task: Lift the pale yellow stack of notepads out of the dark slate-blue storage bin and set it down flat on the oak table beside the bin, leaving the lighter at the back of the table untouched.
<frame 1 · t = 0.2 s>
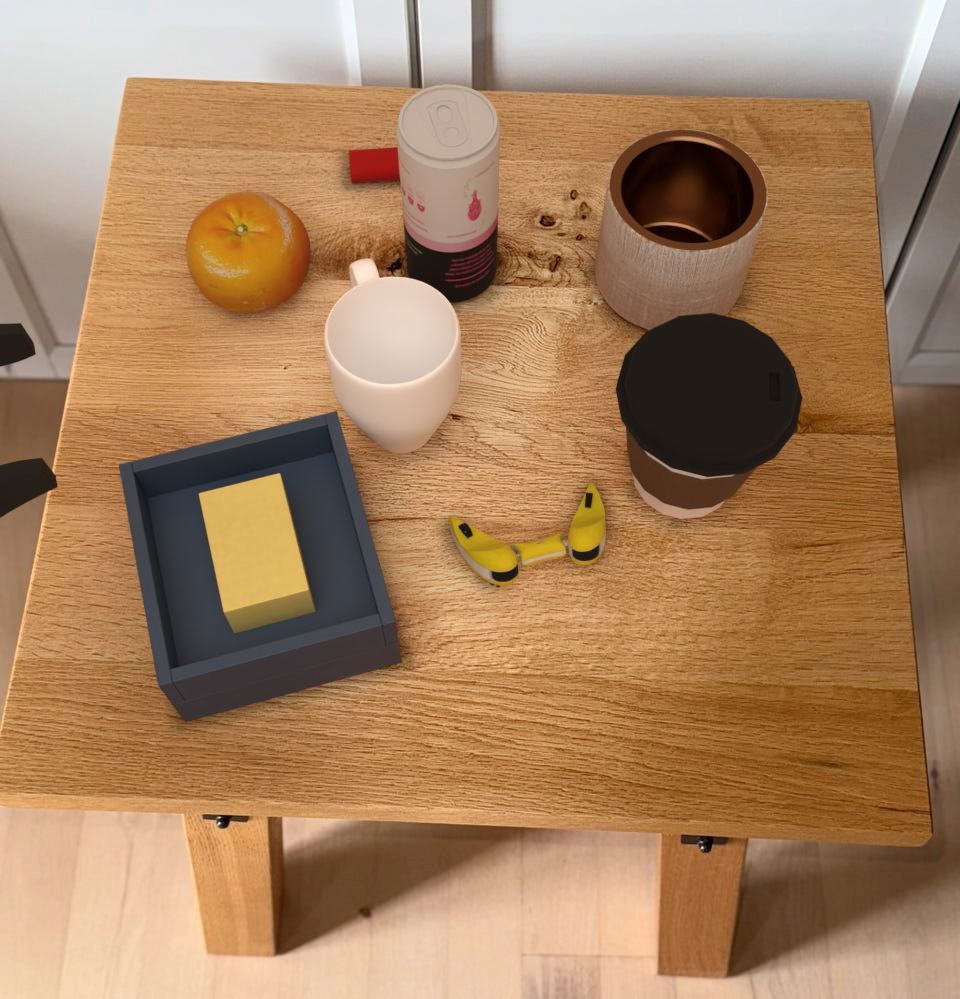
hand: (39, 404, 59), 21 cm above the table, tool horizontal, fingers open, 7 cm apart
planter: (666, 279, 89), on the table
mug: (394, 406, 83), on the table
notepads: (261, 564, 74), point 3 cm above the table, touching bin
game controller: (533, 547, 79), on the table
coffee cup: (680, 480, 81), on the table
fruit: (257, 283, 88), on the table
lighter: (402, 170, 93), on the table
bin: (270, 586, 77), on the table
beverage can: (452, 272, 89), on the table
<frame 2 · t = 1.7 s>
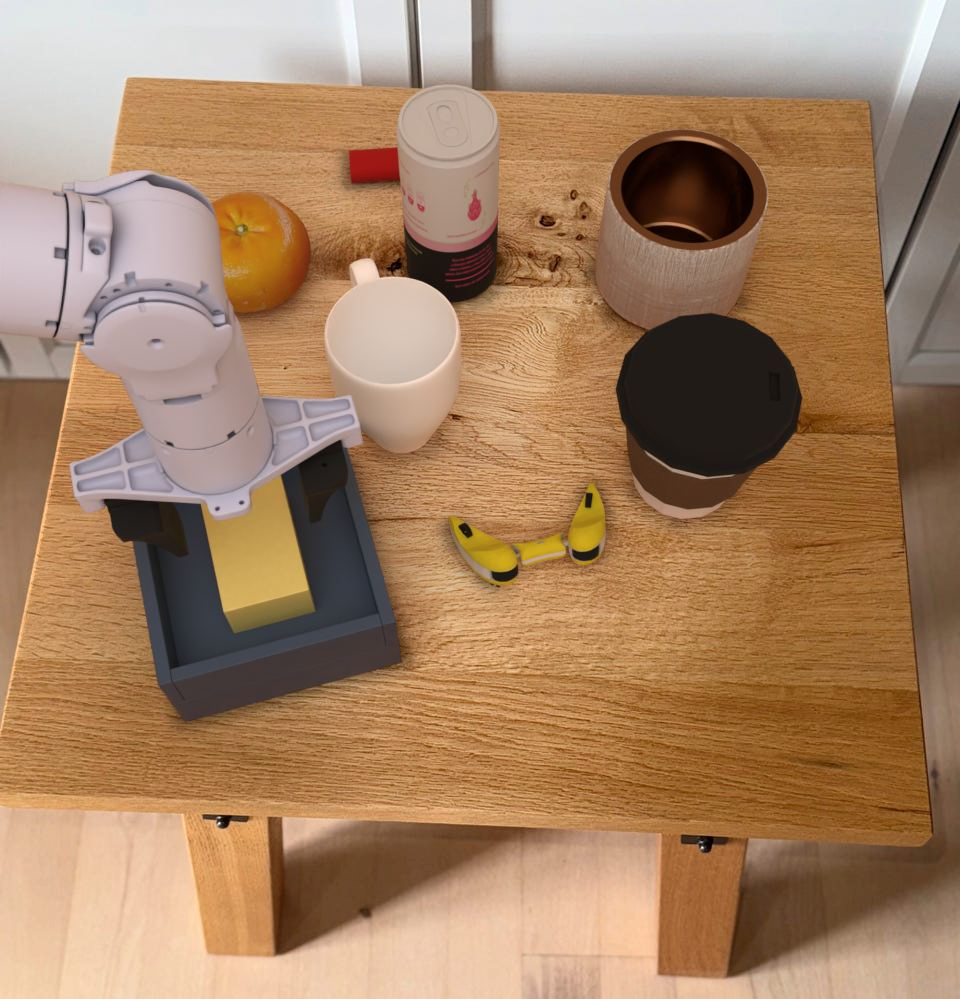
hand: (246, 524, 69), 9 cm above the table, tool pointing down, fingers open, 7 cm apart
nothing on the table moved.
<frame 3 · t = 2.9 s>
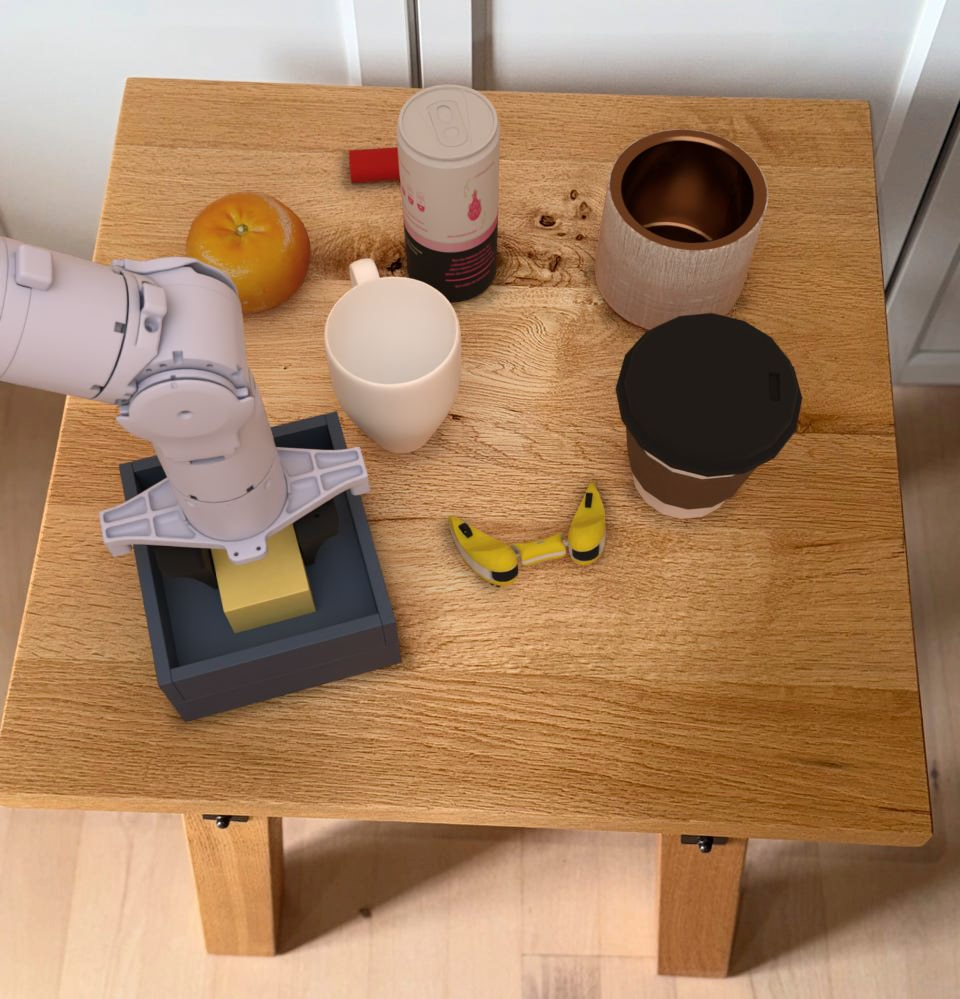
hand: (260, 562, 74), 4 cm above the table, tool pointing down, fingers closed on notepads, 5 cm apart
notepads: (262, 564, 74), point 3 cm above the table, touching bin, gripper
everything else where it was.
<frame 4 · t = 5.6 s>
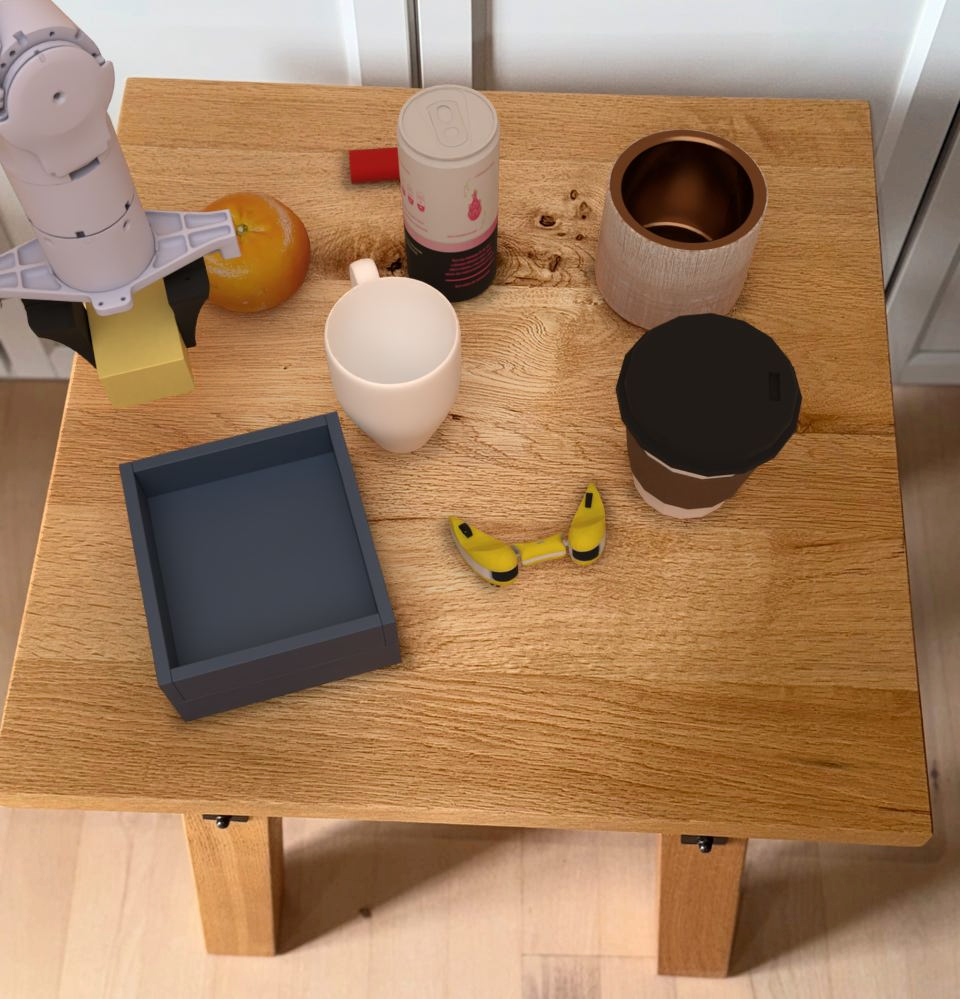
hand: (143, 345, 74), 9 cm above the table, tool pointing down, fingers closed on notepads, 5 cm apart
notepads: (145, 347, 75), point 9 cm above the table, touching gripper
everything else where it was.
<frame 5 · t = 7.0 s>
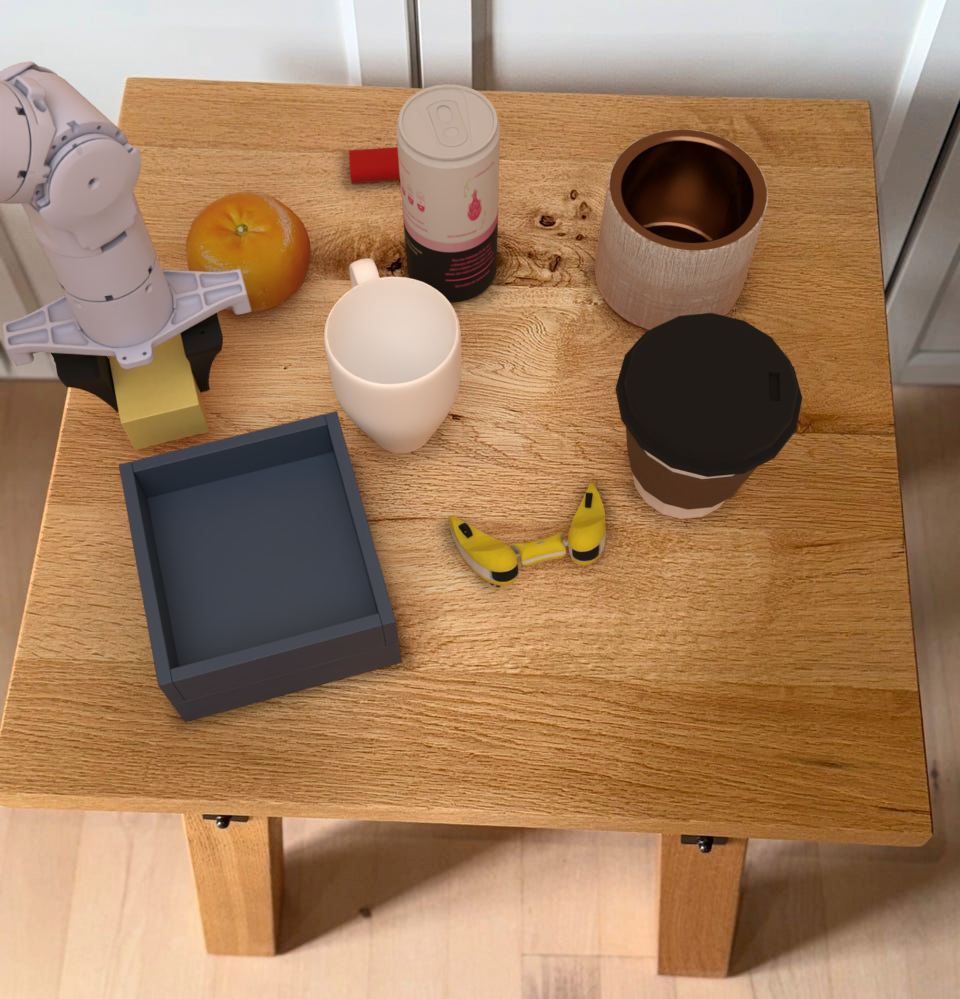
hand: (160, 389, 81), 2 cm above the table, tool pointing down, fingers closed on notepads, 5 cm apart
notepads: (162, 391, 81), point 2 cm above the table, touching gripper
everything else where it was.
when the fingers open (0 cm above the table, at t = 8.2 s): notepads stays where it is, on the table.
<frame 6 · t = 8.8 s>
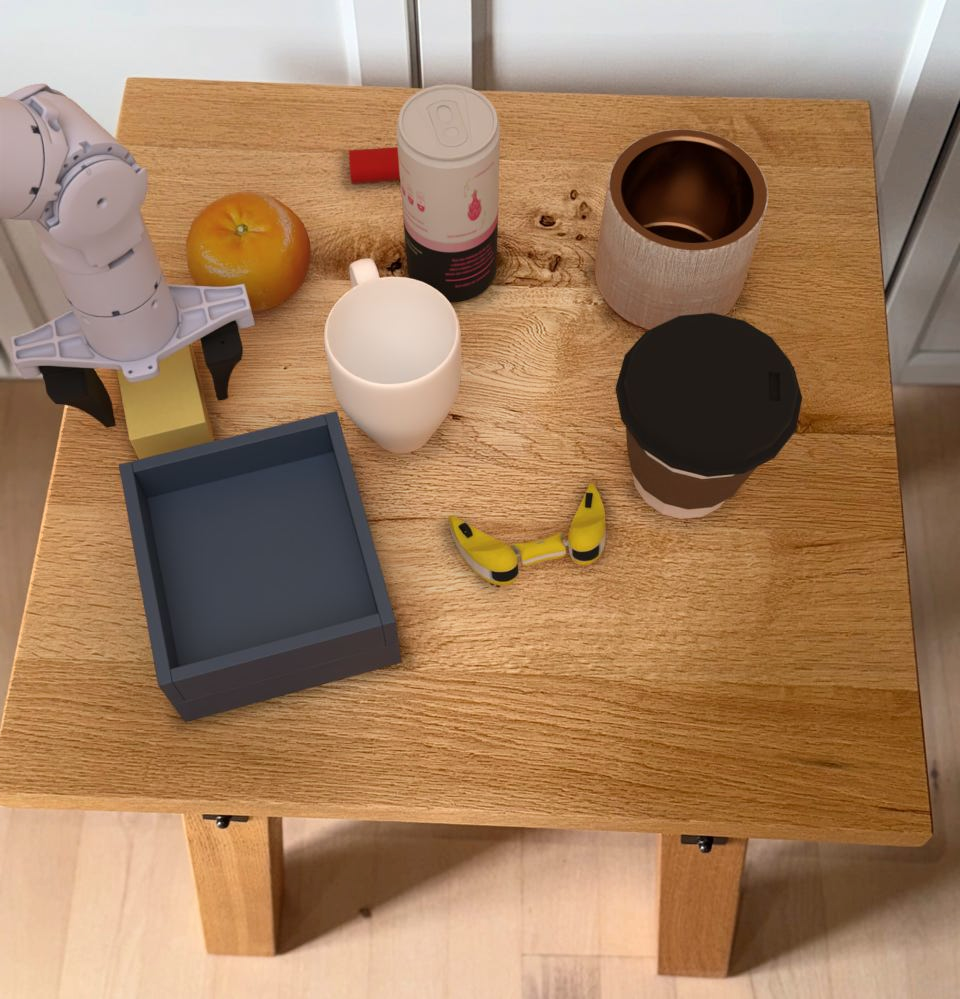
hand: (165, 401, 82), 1 cm above the table, tool pointing down, fingers open, 7 cm apart
notepads: (169, 408, 83), on the table
everything else where it was.
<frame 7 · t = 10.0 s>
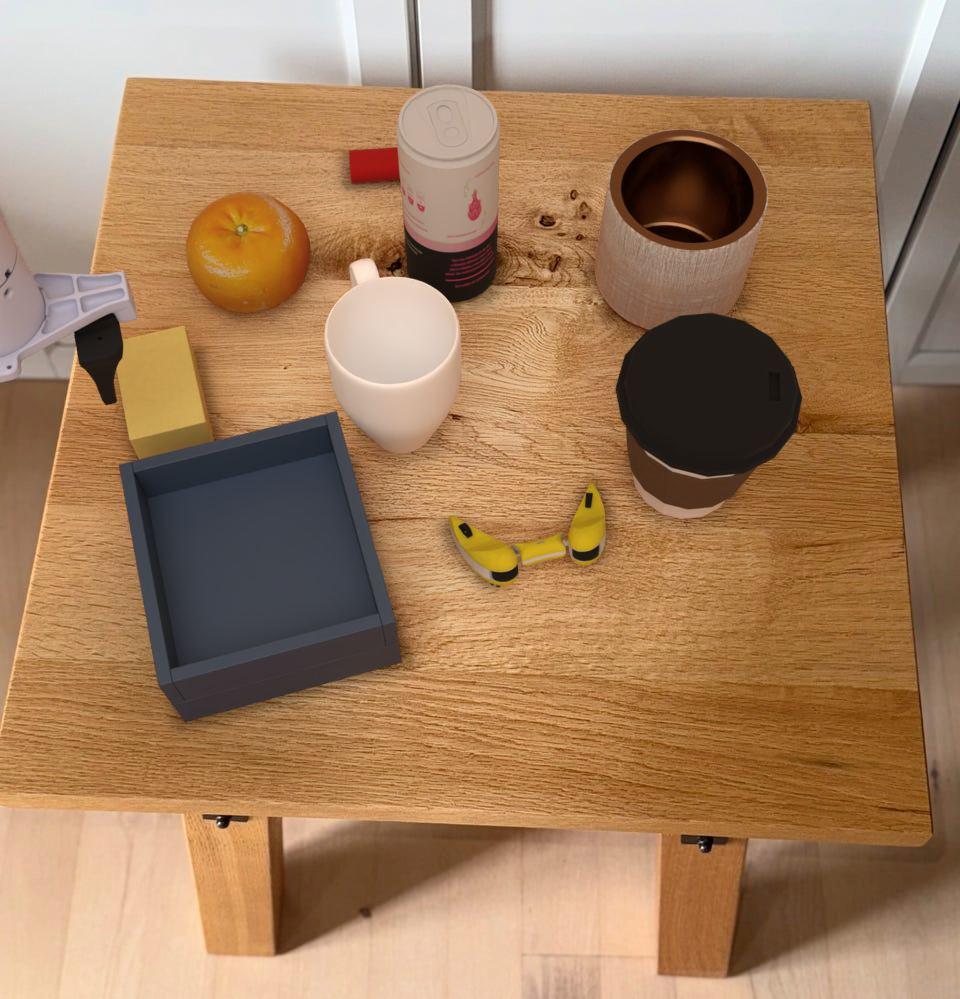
hand: (45, 405, 72), 9 cm above the table, tool pointing down, fingers open, 7 cm apart
nothing on the table moved.
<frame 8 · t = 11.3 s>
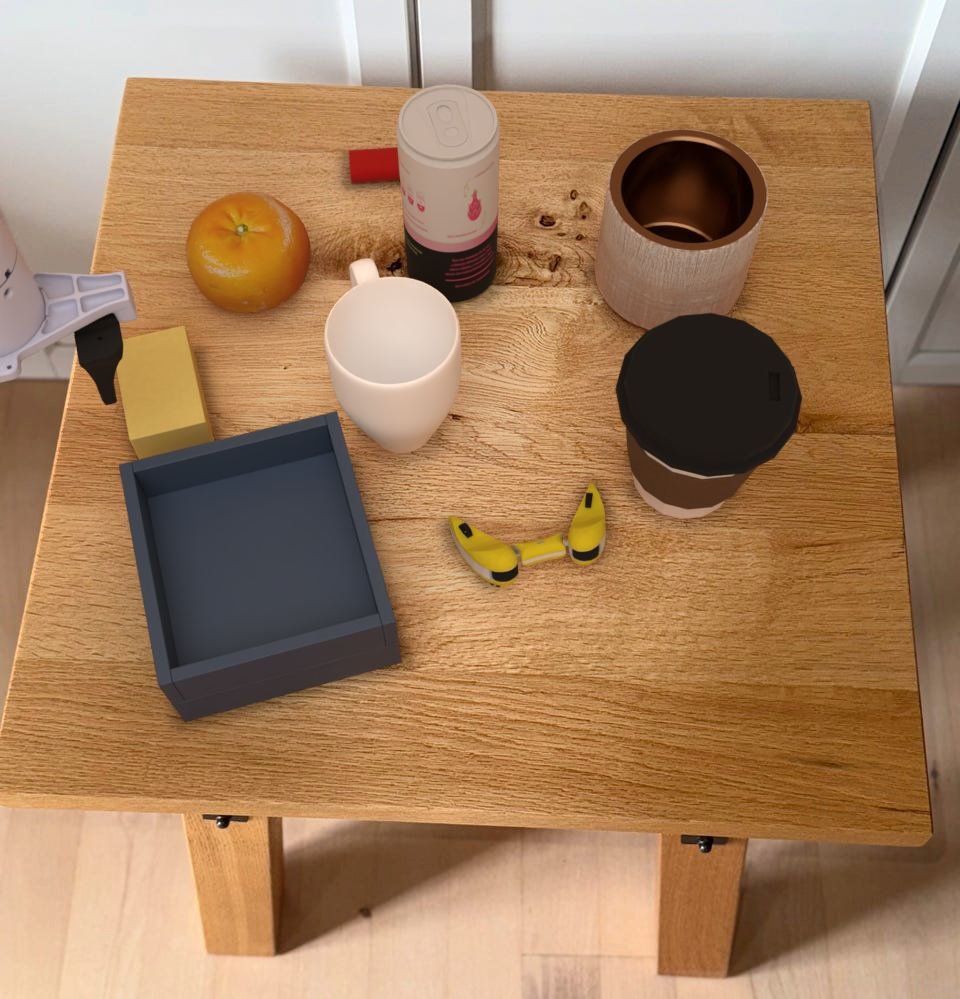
hand: (45, 405, 72), 9 cm above the table, tool pointing down, fingers open, 7 cm apart
nothing on the table moved.
at the end: notepads inside the target area on the table beside the bin (0.3 cm from its centre), on the table; notepads tilted 0°; lighter moved 0.2 cm from its start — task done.
